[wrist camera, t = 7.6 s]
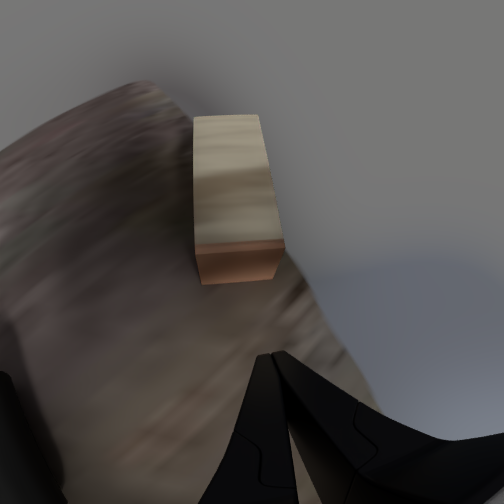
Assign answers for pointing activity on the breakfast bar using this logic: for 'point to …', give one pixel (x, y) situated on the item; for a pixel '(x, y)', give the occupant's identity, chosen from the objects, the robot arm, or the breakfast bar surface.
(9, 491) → the end cap
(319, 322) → the breakfast bar surface
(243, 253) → the beech block
